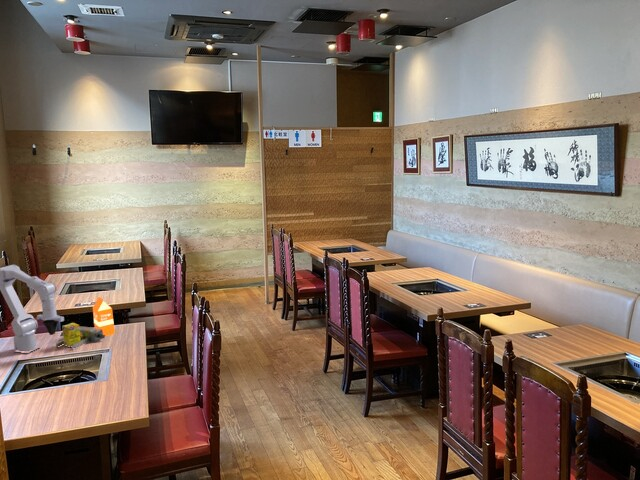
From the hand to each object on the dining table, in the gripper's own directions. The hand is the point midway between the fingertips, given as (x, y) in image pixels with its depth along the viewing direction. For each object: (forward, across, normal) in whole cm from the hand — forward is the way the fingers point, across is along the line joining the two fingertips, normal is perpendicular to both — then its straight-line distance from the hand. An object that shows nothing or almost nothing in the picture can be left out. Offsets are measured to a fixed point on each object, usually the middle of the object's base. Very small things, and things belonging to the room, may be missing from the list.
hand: (52, 334), depth 243 cm
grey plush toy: (+10, +2, +15) cm, 18 cm away
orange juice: (+11, +5, +29) cm, 32 cm away
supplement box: (+11, 0, +12) cm, 16 cm away
